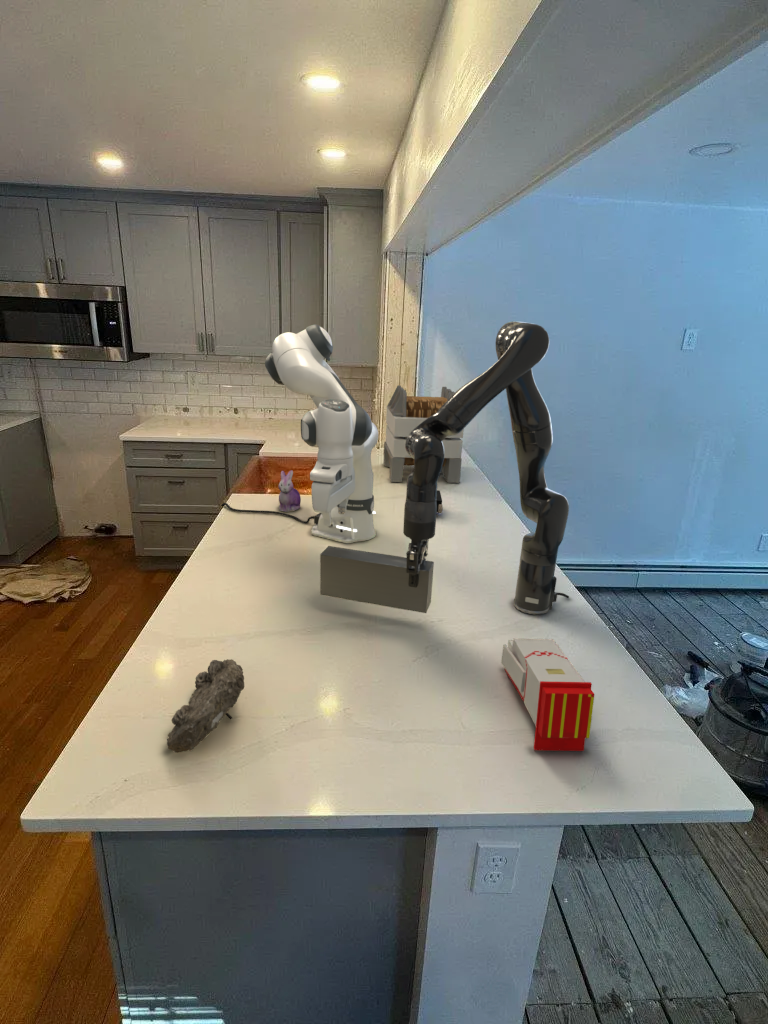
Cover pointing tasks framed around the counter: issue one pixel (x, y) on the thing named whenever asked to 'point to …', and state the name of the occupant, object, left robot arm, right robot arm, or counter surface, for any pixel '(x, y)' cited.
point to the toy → (550, 693)
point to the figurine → (288, 493)
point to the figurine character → (439, 503)
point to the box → (374, 579)
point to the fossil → (206, 705)
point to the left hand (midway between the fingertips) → (335, 519)
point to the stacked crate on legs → (401, 422)
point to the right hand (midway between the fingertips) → (416, 580)
